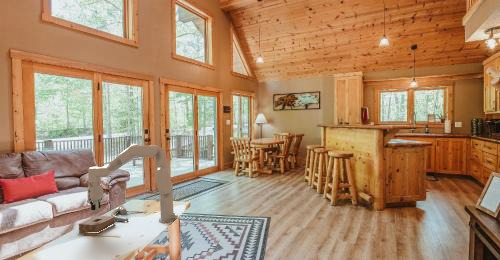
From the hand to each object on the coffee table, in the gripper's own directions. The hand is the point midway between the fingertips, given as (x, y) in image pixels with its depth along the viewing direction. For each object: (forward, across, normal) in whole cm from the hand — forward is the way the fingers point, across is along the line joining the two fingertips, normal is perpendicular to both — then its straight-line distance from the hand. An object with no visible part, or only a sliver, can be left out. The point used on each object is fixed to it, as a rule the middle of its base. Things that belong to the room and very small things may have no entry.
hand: (95, 208), depth 187 cm
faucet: (+15, +26, -5) cm, 30 cm away
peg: (+3, 0, 0) cm, 3 cm away
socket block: (+15, 0, 0) cm, 15 cm away
